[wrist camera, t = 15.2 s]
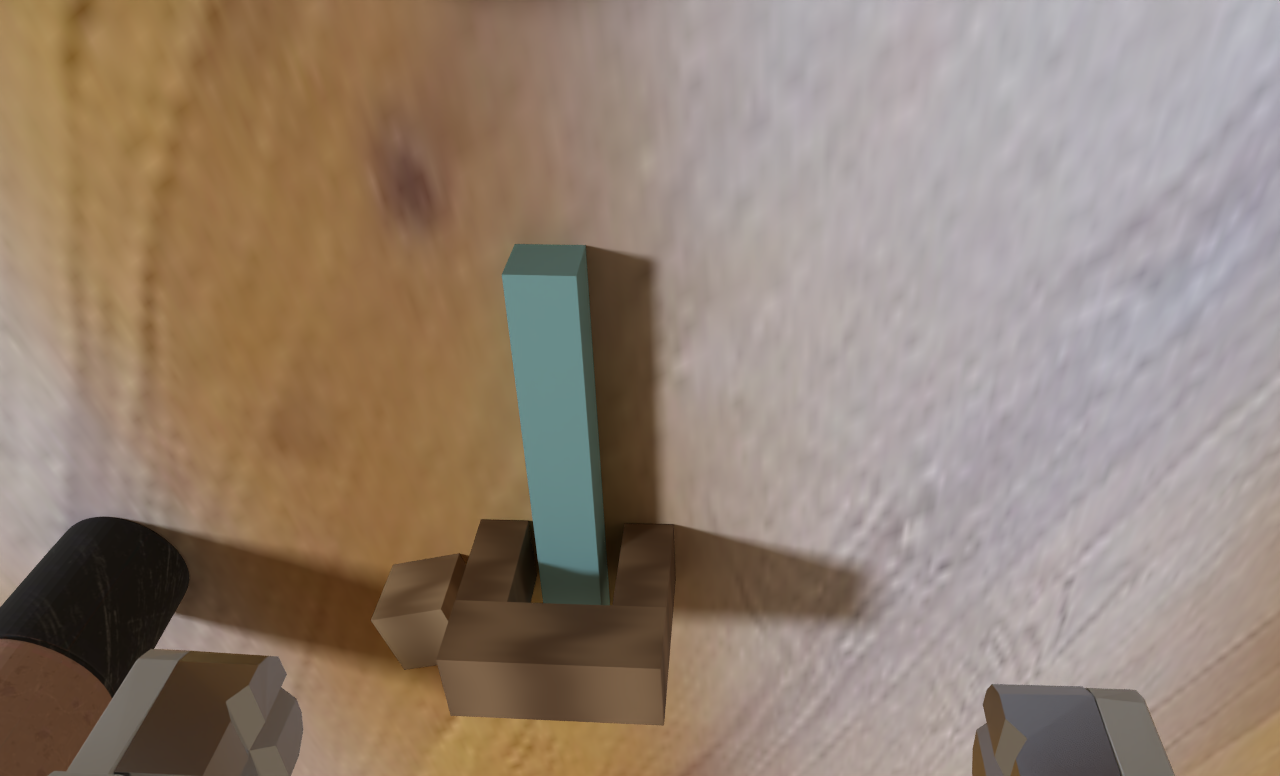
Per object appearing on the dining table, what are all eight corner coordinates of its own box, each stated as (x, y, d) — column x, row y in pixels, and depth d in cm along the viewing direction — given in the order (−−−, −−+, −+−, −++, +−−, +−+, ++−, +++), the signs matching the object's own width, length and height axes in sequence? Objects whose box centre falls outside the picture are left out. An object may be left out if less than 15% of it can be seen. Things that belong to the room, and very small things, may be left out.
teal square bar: (586, 241, 41) (576, 276, 39) (610, 600, 54) (604, 643, 51) (516, 240, 41) (501, 274, 39) (557, 597, 54) (547, 640, 52)
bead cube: (459, 552, 52) (440, 609, 49) (488, 602, 54) (472, 659, 51) (393, 563, 53) (370, 620, 50) (424, 612, 55) (404, 669, 52)
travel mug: (128, 496, 52) (-153, 862, 36) (222, 589, 56) (7, 959, 39) (30, 535, 54) (-274, 893, 38) (126, 621, 58) (-113, 981, 42)
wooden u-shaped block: (673, 524, 49) (660, 669, 42) (675, 579, 52) (663, 725, 45) (480, 519, 50) (436, 659, 43) (491, 573, 53) (450, 715, 46)
